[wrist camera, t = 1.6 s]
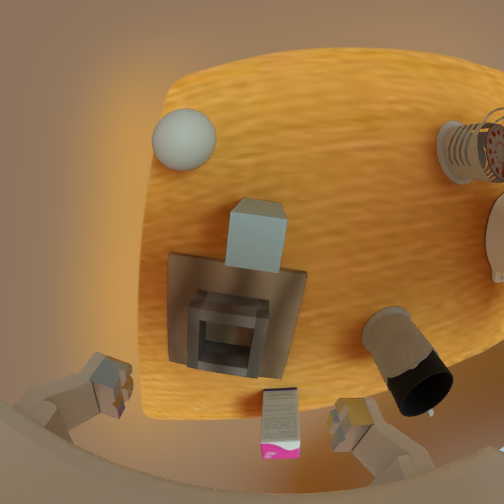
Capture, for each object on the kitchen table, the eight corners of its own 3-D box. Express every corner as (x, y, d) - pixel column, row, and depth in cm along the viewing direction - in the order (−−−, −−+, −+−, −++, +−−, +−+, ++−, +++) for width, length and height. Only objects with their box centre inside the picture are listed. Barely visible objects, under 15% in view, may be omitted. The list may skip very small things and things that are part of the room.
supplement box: (262, 388, 41) (259, 442, 30) (297, 386, 41) (302, 440, 30) (264, 409, 43) (262, 460, 32) (296, 407, 43) (301, 458, 32)
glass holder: (401, 295, 35) (453, 353, 21) (423, 352, 38) (461, 408, 24) (353, 327, 37) (386, 398, 23) (382, 378, 40) (409, 441, 26)
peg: (280, 202, 33) (287, 219, 21) (274, 238, 34) (278, 273, 22) (243, 197, 33) (230, 211, 21) (238, 233, 34) (224, 265, 22)
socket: (306, 271, 35) (313, 291, 29) (281, 374, 40) (282, 401, 34) (170, 252, 35) (153, 267, 29) (170, 357, 40) (159, 381, 35)
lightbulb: (223, 173, 32) (203, 174, 21) (176, 168, 32) (137, 168, 21) (231, 125, 30) (214, 103, 20) (183, 121, 30) (147, 102, 20)
